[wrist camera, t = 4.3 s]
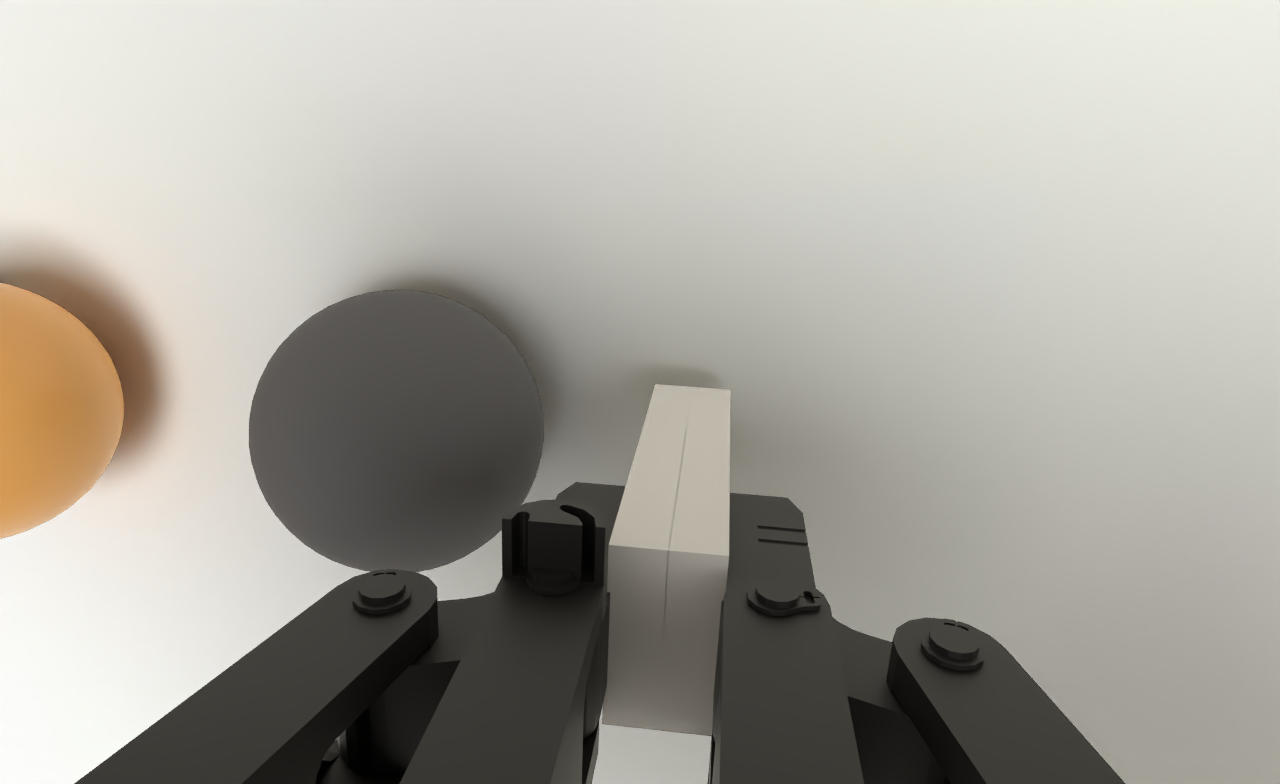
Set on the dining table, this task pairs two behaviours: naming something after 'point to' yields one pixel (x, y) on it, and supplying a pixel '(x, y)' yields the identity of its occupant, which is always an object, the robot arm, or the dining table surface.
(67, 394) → the object ball
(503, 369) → the dark grey round piece
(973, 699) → the robot arm
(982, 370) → the dining table surface
